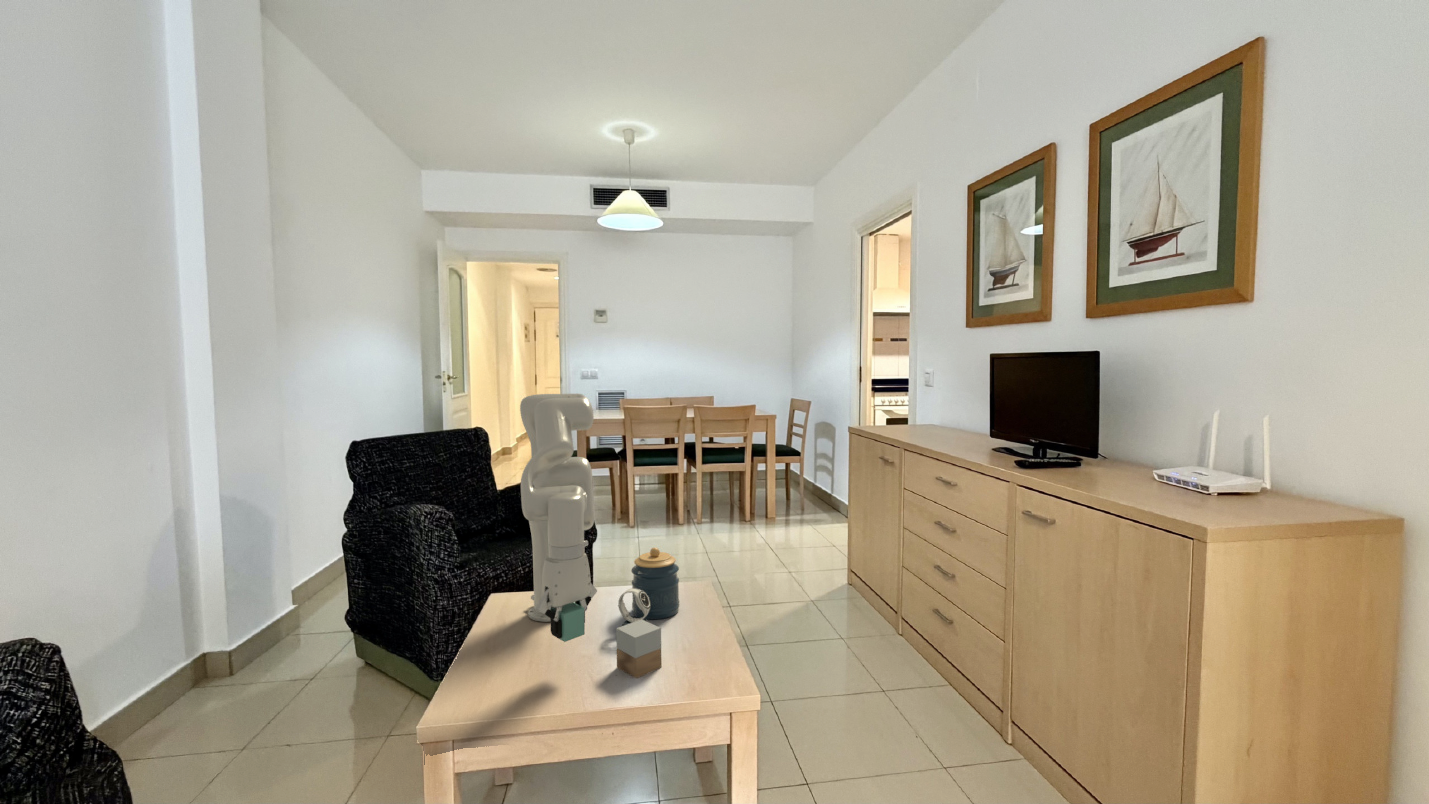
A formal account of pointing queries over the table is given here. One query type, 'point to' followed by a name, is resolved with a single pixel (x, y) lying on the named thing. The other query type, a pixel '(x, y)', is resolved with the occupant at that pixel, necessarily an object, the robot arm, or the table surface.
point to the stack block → (572, 621)
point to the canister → (656, 584)
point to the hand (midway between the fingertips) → (568, 631)
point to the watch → (641, 601)
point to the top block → (638, 638)
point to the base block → (639, 663)
